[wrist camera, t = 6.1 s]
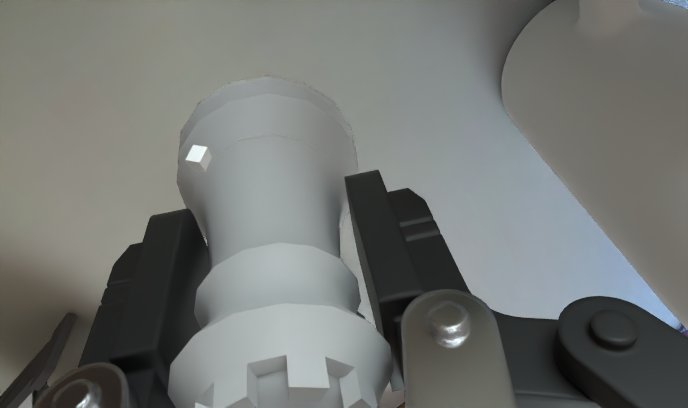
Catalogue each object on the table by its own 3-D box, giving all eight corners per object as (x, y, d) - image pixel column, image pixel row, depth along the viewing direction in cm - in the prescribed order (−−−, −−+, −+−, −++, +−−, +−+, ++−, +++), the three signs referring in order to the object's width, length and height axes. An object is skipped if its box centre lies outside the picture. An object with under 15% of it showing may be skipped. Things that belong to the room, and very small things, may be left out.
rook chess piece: (373, 186, 14) (479, 466, 8) (229, 241, 14) (213, 555, 8) (318, 39, 11) (408, 274, 5) (143, 110, 12) (14, 417, 5)
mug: (666, 96, 21) (1008, 304, 11) (518, 168, 22) (711, 411, 13) (636, -165, 15) (1265, -198, 6) (440, -50, 17) (680, 85, 7)
